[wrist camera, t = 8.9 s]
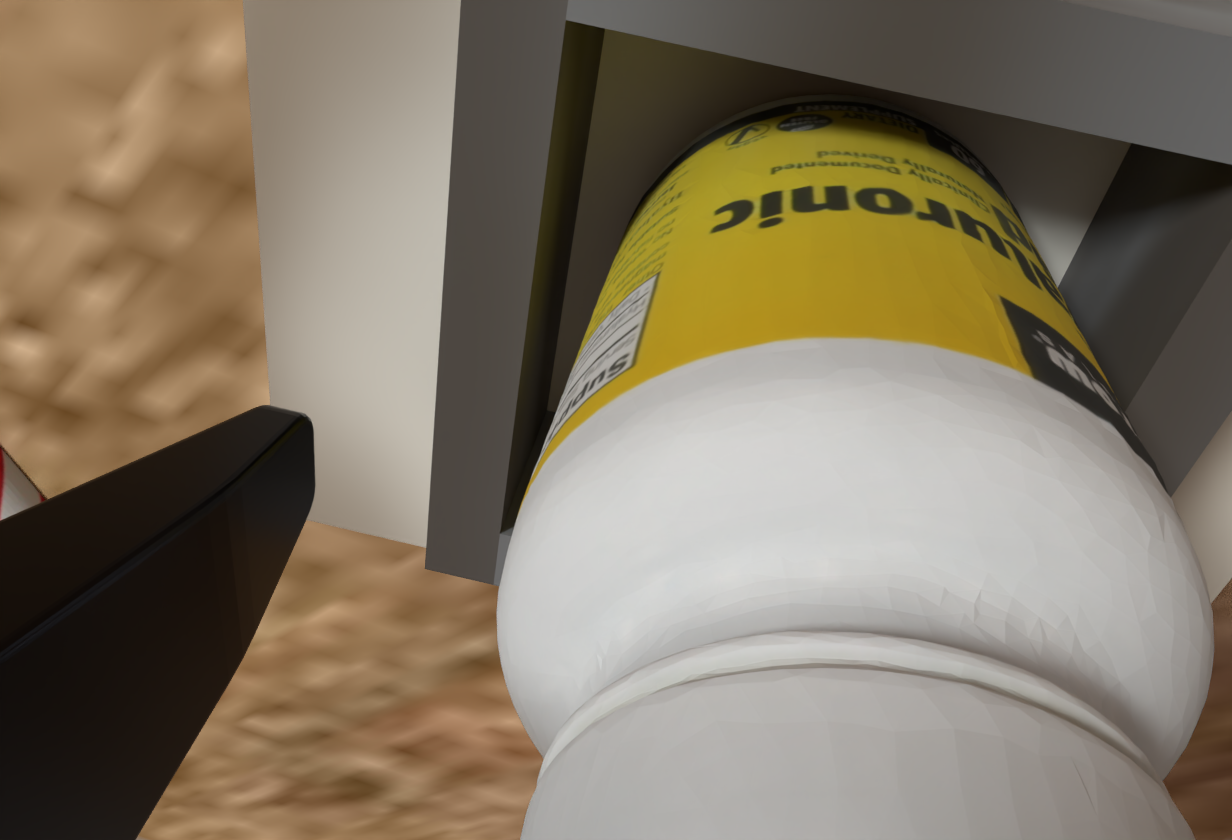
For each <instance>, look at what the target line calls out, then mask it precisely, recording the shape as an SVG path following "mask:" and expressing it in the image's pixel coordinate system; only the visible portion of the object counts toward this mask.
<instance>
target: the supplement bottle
mask: <svg viewBox="0 0 1232 840" xmlns="http://www.w3.org/2000/svg"><path fill="white" fill-rule="evenodd" d="M497 639H498V647H499V654H500V660H501V666H502V670H503V674H504V678H505V682H506V686H507V688H508V691H509V694H510V697H511V699H512V702H513V705H514V707H515V709H516V711H517V714H518V716H519V718H520V720H521V722H522V724H523V726H524V728H525V730H526V732H527V733H528V735H529V737H530V738H531V740H532V742H533V743H534V745H535V746H536V748H537V749H538V751H539V752H540V754H541V755H542V757H543V758H544V761H543V763H542V766H541V770H540V773H539V777H538V780H537V788H536V790H535V792H534V794H533V796H532V798H531V801H530V804H529V807H528V810H527V812H526V816H525V820H524V825H523V829H522V834H521V839H520V840H1195V837H1194V835H1193V833H1192V830H1191V828H1190V827H1189V825H1188V824H1187V822H1186V820H1185V819H1184V817H1183V816H1182V814H1181V813H1180V811H1179V810H1178V808H1177V807H1176V805H1175V803H1174V802H1173V801H1172V799H1171V797H1170V795H1169V793H1168V791H1167V789H1166V787H1165V785H1164V783H1163V782H1162V781H1163V780H1164V779H1165V778H1166V776H1167V775H1168V774H1169V772H1170V771H1171V769H1172V768H1173V766H1174V765H1175V763H1176V762H1177V760H1178V759H1179V757H1180V756H1181V754H1182V753H1183V751H1184V750H1185V748H1186V747H1187V745H1188V743H1189V740H1190V738H1191V736H1192V734H1193V731H1194V729H1195V727H1196V725H1197V722H1198V720H1199V717H1200V715H1201V712H1202V710H1203V707H1204V704H1205V702H1206V699H1207V695H1208V689H1209V685H1210V680H1211V675H1212V666H1213V657H1214V629H1213V611H1212V607H1211V602H1210V597H1209V593H1208V588H1207V583H1206V580H1205V577H1204V574H1203V571H1202V568H1201V565H1200V562H1199V559H1198V556H1197V554H1196V552H1195V550H1194V548H1193V545H1192V543H1191V541H1190V539H1189V537H1188V535H1187V532H1186V529H1185V527H1184V524H1183V522H1182V520H1181V518H1180V517H1179V515H1178V513H1177V511H1176V510H1175V507H1174V503H1173V501H1172V499H1171V497H1170V496H1169V494H1168V491H1167V489H1166V486H1165V483H1164V481H1163V478H1162V476H1161V475H1160V473H1159V471H1158V469H1157V466H1156V463H1155V462H1154V460H1153V459H1152V458H1151V456H1150V455H1149V453H1148V452H1147V450H1146V449H1145V447H1144V446H1143V444H1142V442H1141V440H1140V438H1139V436H1138V434H1137V433H1136V431H1135V429H1134V427H1133V426H1132V424H1131V423H1130V420H1129V418H1128V416H1127V415H1126V413H1125V412H1124V410H1123V409H1122V407H1121V405H1120V403H1119V401H1118V400H1117V398H1116V396H1115V394H1114V392H1113V391H1112V389H1111V387H1110V385H1109V383H1108V381H1107V379H1106V377H1105V375H1104V373H1103V372H1102V370H1101V368H1100V366H1099V365H1098V363H1097V361H1096V359H1095V357H1094V355H1093V353H1092V352H1091V350H1090V348H1089V346H1088V344H1087V342H1086V340H1085V338H1084V336H1083V334H1082V332H1081V330H1080V328H1079V326H1078V324H1077V323H1076V321H1075V320H1074V318H1073V316H1072V313H1071V311H1070V309H1069V307H1068V305H1067V304H1066V302H1065V300H1064V298H1063V297H1062V295H1061V293H1060V292H1059V290H1058V288H1057V286H1056V284H1055V282H1054V280H1053V278H1052V276H1051V274H1050V272H1049V270H1048V268H1047V266H1046V264H1045V262H1044V261H1043V259H1042V257H1041V255H1040V253H1039V252H1038V250H1037V248H1036V246H1035V245H1034V243H1033V241H1032V239H1031V238H1030V236H1029V234H1028V232H1027V230H1026V228H1025V226H1024V224H1023V222H1022V220H1021V217H1020V215H1019V213H1018V211H1017V209H1016V208H1015V207H1014V205H1013V204H1012V202H1011V201H1010V199H1009V198H1008V196H1007V195H1006V193H1005V191H1004V190H1003V188H1002V186H1001V185H1000V183H999V182H998V181H997V180H996V178H995V177H994V176H993V174H992V173H991V172H990V170H989V169H988V168H987V167H986V165H985V164H984V163H983V162H982V161H981V160H980V159H979V158H978V157H977V155H976V154H975V153H974V152H973V151H972V150H971V149H970V148H969V147H968V146H967V145H966V144H964V143H963V142H962V141H960V140H959V139H958V138H957V137H955V136H954V135H953V134H951V133H950V132H949V131H947V130H946V129H944V128H943V127H941V126H940V125H938V124H937V123H935V122H933V121H931V120H929V119H928V118H926V117H924V116H922V115H920V114H918V113H916V112H913V111H911V110H908V109H906V108H903V107H901V106H898V105H895V104H891V103H887V102H884V101H880V100H877V99H873V98H866V97H860V96H851V95H838V94H824V95H806V96H798V97H790V98H785V99H780V100H776V101H772V102H768V103H764V104H761V105H758V106H755V107H753V108H750V109H747V110H745V111H742V112H740V113H737V114H735V115H733V116H731V117H729V118H727V119H725V120H723V121H721V122H719V123H718V124H716V125H715V126H713V127H712V128H710V129H708V130H707V131H705V132H704V133H702V134H701V135H699V136H698V137H697V138H695V139H694V140H693V141H692V142H690V143H689V144H688V145H687V146H686V147H684V148H683V149H682V150H681V151H680V152H679V153H678V154H677V155H676V156H675V157H674V158H673V159H672V160H671V161H670V162H669V163H668V164H667V165H666V166H665V167H664V168H663V169H662V171H661V172H660V173H659V174H658V176H657V177H656V178H655V180H654V181H653V182H652V184H651V185H650V186H649V188H648V189H647V191H646V192H645V194H644V195H643V196H642V198H641V200H640V202H639V203H638V205H637V207H636V209H635V211H634V213H633V215H632V217H631V218H630V220H629V223H628V225H627V228H626V230H625V232H624V235H623V237H622V239H621V241H620V244H619V246H618V249H617V252H616V255H615V257H614V260H613V263H612V266H611V268H610V271H609V274H608V276H607V279H606V281H605V284H604V286H603V289H602V291H601V293H600V296H599V299H598V302H597V305H596V307H595V309H594V312H593V315H592V318H591V321H590V323H589V326H588V328H587V331H586V333H585V336H584V339H583V341H582V344H581V347H580V350H579V352H578V355H577V358H576V360H575V363H574V366H573V368H572V371H571V373H570V376H569V379H568V381H567V384H566V387H565V390H564V393H563V395H562V397H561V400H560V403H559V406H558V408H557V411H556V414H555V417H554V419H553V422H552V425H551V427H550V430H549V432H548V434H547V436H546V439H545V442H544V445H543V448H542V451H541V454H540V457H539V459H538V462H537V464H536V466H535V468H534V471H533V473H532V476H531V479H530V482H529V484H528V487H527V490H526V492H525V495H524V498H523V500H522V503H521V506H520V509H519V513H518V516H517V519H516V523H515V526H514V530H513V533H512V537H511V540H510V543H509V547H508V550H507V555H506V559H505V564H504V568H503V573H502V577H501V582H500V586H499V591H498V603H497Z"/></svg>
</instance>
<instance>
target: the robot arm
mask: <svg viewBox="0 0 1232 840" xmlns="http://www.w3.org/2000/svg"><path fill="white" fill-rule="evenodd" d="M315 486H316V482H315V452H314V429H313V424H312V421H311V419H310V418H309V417H308V416H307V415H306V414H304V413H302V412H297V411H293V410H289V409H284V408H280V407H276V406H270V405H262V406H259V407H256V408H253V409H251V410H249V411H247V412H244V413H242V414H240V415H238V416H235V417H233V418H231V419H228V420H226V421H224V422H222V423H219V424H217V425H215V426H213V427H210V428H208V429H206V430H204V431H201V432H199V433H197V434H195V435H192V436H190V437H188V438H186V439H183V440H181V441H179V442H176V443H174V444H172V445H170V446H167V447H165V448H163V449H161V450H158V451H156V452H154V453H152V454H149V455H147V456H145V457H143V458H140V459H138V460H136V461H134V462H131V463H129V464H127V465H124V466H122V467H120V468H118V469H115V470H113V471H111V472H109V473H106V474H104V475H102V476H100V477H97V478H95V479H93V480H91V481H88V482H86V483H84V484H82V485H79V486H77V487H75V488H72V489H70V490H68V491H66V492H63V493H61V494H59V495H57V496H54V497H52V498H50V499H48V500H45V501H43V502H41V503H39V504H36V505H34V506H32V507H30V508H27V509H25V510H23V511H20V512H18V513H16V514H14V515H11V516H9V517H7V518H5V519H2V520H0V840H136V838H137V836H138V835H139V833H140V831H141V830H142V828H143V826H144V825H145V823H146V821H147V820H148V818H149V816H150V815H151V813H152V811H153V810H154V808H155V806H156V805H157V803H158V801H159V800H160V798H161V796H162V795H163V793H164V791H165V790H166V788H167V786H168V785H169V783H170V781H171V779H172V778H173V776H174V774H175V773H176V771H177V769H178V768H179V766H180V764H181V763H182V761H183V759H184V758H185V756H186V754H187V753H188V751H189V749H190V748H191V746H192V744H193V743H194V741H195V739H196V738H197V736H198V734H199V733H200V731H201V729H202V728H203V726H204V724H205V723H206V721H207V719H208V718H209V716H210V714H211V713H212V711H213V709H214V708H215V706H216V704H217V703H218V701H219V699H220V698H221V696H222V694H223V693H224V691H225V689H226V688H227V686H228V684H229V683H230V681H231V679H232V677H233V675H234V674H235V672H236V670H237V668H238V667H239V665H240V663H241V661H242V659H243V658H244V656H245V653H246V651H247V649H248V647H249V645H250V643H251V641H252V639H253V637H254V635H255V633H256V630H257V628H258V626H259V624H260V621H261V619H262V617H263V615H264V613H265V610H266V608H267V606H268V604H269V602H270V599H271V597H272V595H273V593H274V590H275V588H276V586H277V584H278V582H279V579H280V577H281V575H282V573H283V570H284V568H285V566H286V564H287V562H288V559H289V557H290V555H291V553H292V550H293V548H294V546H295V544H296V542H297V539H298V537H299V535H300V533H301V530H302V528H303V526H304V524H305V522H306V519H307V517H308V515H309V512H310V510H311V507H312V504H313V500H314V495H315Z"/></svg>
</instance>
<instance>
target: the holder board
mask: <svg viewBox="0 0 1232 840" xmlns="http://www.w3.org/2000/svg"><path fill="white" fill-rule="evenodd" d="M243 9H244V24H245V39H246V53H247V68H248V83H249V97H250V112H251V127H252V142H253V156H254V171H255V186H256V200H257V215H258V230H259V244H260V259H261V274H262V288H263V303H264V318H265V333H266V347H267V362H268V377H269V391H270V406H276V407H280V408H284V409H289V410H293V411H297V412H302V413H304V414H306V415H307V416H308V417H309V418H310V419H311V421H312V424H313V429H314V452H315V482H316V486H315V495H314V500H313V504H312V507H311V510H310V512H309V515H308V517H307V519H306V520H309V521H314V522H318V523H322V524H327V525H331V526H335V527H339V528H344V529H348V530H352V531H357V532H361V533H365V534H370V535H374V536H378V537H382V538H387V539H391V540H395V541H400V542H404V543H408V544H412V545H417V546H421V547H425V548H426V560H425V569H428V570H432V571H436V572H441V573H445V574H449V575H453V576H458V577H462V578H466V579H471V580H475V581H479V582H483V583H488V584H492V585H496V586H500V582H501V577H502V573H503V568H504V564H505V559H506V555H507V550H508V547H509V543H510V540H511V537H512V533H513V530H514V526H515V523H516V519H517V516H518V513H519V509H520V506H521V503H522V500H523V498H524V495H525V492H526V490H527V487H528V484H529V482H530V479H531V476H532V473H533V471H534V468H535V466H536V464H537V462H538V459H539V457H540V454H541V451H542V448H543V445H544V442H545V439H546V436H547V434H548V432H549V430H550V427H551V425H552V422H553V419H554V417H555V414H556V411H557V408H558V406H559V403H560V400H561V397H562V395H563V393H564V390H565V387H566V384H567V381H568V379H569V376H570V373H571V371H572V368H573V366H574V363H575V360H576V358H577V355H578V352H579V350H580V347H581V344H582V341H583V339H584V336H585V333H586V331H587V328H588V326H589V323H590V321H591V318H592V315H593V312H594V309H595V307H596V305H597V302H598V299H599V296H600V293H601V291H602V289H603V286H604V284H605V281H606V279H607V276H608V274H609V271H610V268H611V266H612V263H613V260H614V257H615V255H616V252H617V249H618V246H619V244H620V241H621V239H622V237H623V235H624V232H625V230H626V228H627V225H628V223H629V220H630V218H631V217H632V215H633V213H634V211H635V209H636V207H637V205H638V203H639V202H640V200H641V198H642V196H643V195H644V194H645V192H646V191H647V189H648V188H649V186H650V185H651V184H652V182H653V181H654V180H655V178H656V177H657V176H658V174H659V173H660V172H661V171H662V169H663V168H664V167H665V166H666V165H667V164H668V163H669V162H670V161H671V160H672V159H673V158H674V157H675V156H676V155H677V154H678V153H679V152H680V151H681V150H682V149H683V148H684V147H686V146H687V145H688V144H689V143H690V142H692V141H693V140H694V139H695V138H697V137H698V136H699V135H701V134H702V133H704V132H705V131H707V130H708V129H710V128H712V127H713V126H715V125H716V124H718V123H719V122H721V121H723V120H725V119H727V118H729V117H731V116H733V115H735V114H737V113H740V112H742V111H745V110H747V109H750V108H753V107H755V106H758V105H761V104H764V103H768V102H772V101H776V100H780V99H785V98H790V97H798V96H806V95H824V94H838V95H851V96H860V97H866V98H873V99H877V100H880V101H884V102H887V103H891V104H895V105H898V106H901V107H903V108H906V109H908V110H911V111H913V112H916V113H918V114H920V115H922V116H924V117H926V118H928V119H929V120H931V121H933V122H935V123H937V124H938V125H940V126H941V127H943V128H944V129H946V130H947V131H949V132H950V133H951V134H953V135H954V136H955V137H957V138H958V139H959V140H960V141H962V142H963V143H964V144H966V145H967V146H968V147H969V148H970V149H971V150H972V151H973V152H974V153H975V154H976V155H977V157H978V158H979V159H980V160H981V161H982V162H983V163H984V164H985V165H986V167H987V168H988V169H989V170H990V172H991V173H992V174H993V176H994V177H995V178H996V180H997V181H998V182H999V183H1000V185H1001V186H1002V188H1003V190H1004V191H1005V193H1006V195H1007V196H1008V198H1009V199H1010V201H1011V202H1012V204H1013V205H1014V207H1015V208H1016V209H1017V211H1018V213H1019V215H1020V217H1021V220H1022V222H1023V224H1024V226H1025V228H1026V230H1027V232H1028V234H1029V236H1030V238H1031V239H1032V241H1033V243H1034V245H1035V246H1036V248H1037V250H1038V252H1039V253H1040V255H1041V257H1042V259H1043V261H1044V262H1045V264H1046V266H1047V268H1048V270H1049V272H1050V274H1051V276H1052V278H1053V280H1054V282H1055V284H1056V286H1057V288H1058V290H1059V292H1060V293H1061V295H1062V297H1063V298H1064V300H1065V302H1066V304H1067V305H1068V307H1069V309H1070V311H1071V313H1072V316H1073V318H1074V320H1075V321H1076V323H1077V324H1078V326H1079V328H1080V330H1081V332H1082V334H1083V336H1084V338H1085V340H1086V342H1087V344H1088V346H1089V348H1090V350H1091V352H1092V353H1093V355H1094V357H1095V359H1096V361H1097V363H1098V365H1099V366H1100V368H1101V370H1102V372H1103V373H1104V375H1105V377H1106V379H1107V381H1108V383H1109V385H1110V387H1111V389H1112V391H1113V392H1114V394H1115V396H1116V398H1117V400H1118V401H1119V403H1120V405H1121V407H1122V409H1123V410H1124V412H1125V413H1126V415H1127V416H1128V418H1129V420H1130V423H1131V424H1132V426H1133V427H1134V429H1135V431H1136V433H1137V434H1138V436H1139V438H1140V440H1141V442H1142V444H1143V446H1144V447H1145V449H1146V450H1147V452H1148V453H1149V455H1150V456H1151V458H1152V459H1153V460H1154V462H1155V463H1156V466H1157V469H1158V471H1159V473H1160V475H1161V476H1162V478H1163V481H1164V483H1165V486H1166V489H1167V491H1168V494H1169V496H1170V497H1171V499H1172V501H1173V503H1174V507H1175V510H1176V511H1177V513H1178V515H1179V517H1180V518H1181V520H1182V522H1183V524H1184V527H1185V529H1186V532H1187V535H1188V537H1189V539H1190V541H1191V543H1192V545H1193V548H1194V550H1195V552H1196V554H1197V556H1198V559H1199V562H1200V565H1201V568H1202V571H1203V574H1204V577H1205V580H1206V583H1207V588H1208V593H1209V597H1210V602H1211V603H1212V602H1213V601H1214V599H1215V598H1216V597H1217V596H1218V594H1219V593H1220V592H1221V591H1222V589H1223V588H1224V587H1225V586H1226V584H1227V583H1228V582H1229V581H1230V580H1231V578H1232V0H243Z"/></svg>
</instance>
